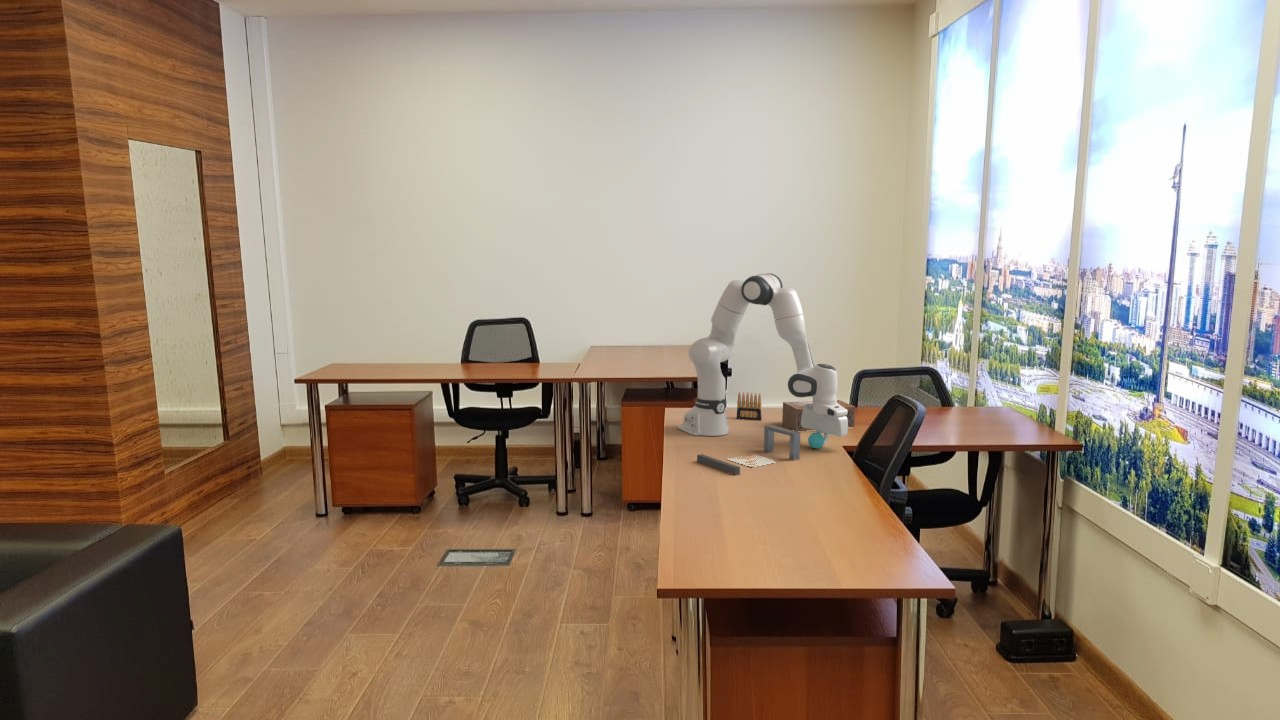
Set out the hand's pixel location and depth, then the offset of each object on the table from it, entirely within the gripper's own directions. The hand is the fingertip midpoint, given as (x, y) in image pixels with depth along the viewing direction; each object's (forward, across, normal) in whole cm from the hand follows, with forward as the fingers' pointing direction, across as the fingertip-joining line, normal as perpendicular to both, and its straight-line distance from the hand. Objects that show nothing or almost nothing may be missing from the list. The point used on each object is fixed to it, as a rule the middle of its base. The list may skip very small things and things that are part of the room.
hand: (822, 443), depth 308 cm
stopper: (+1, -1, -52) cm, 52 cm away
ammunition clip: (+2, -51, +11) cm, 52 cm away
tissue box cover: (+2, -24, +24) cm, 34 cm away
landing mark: (+1, 0, -36) cm, 36 cm away
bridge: (+1, 0, -22) cm, 22 cm away
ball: (-2, 0, -4) cm, 5 cm away
